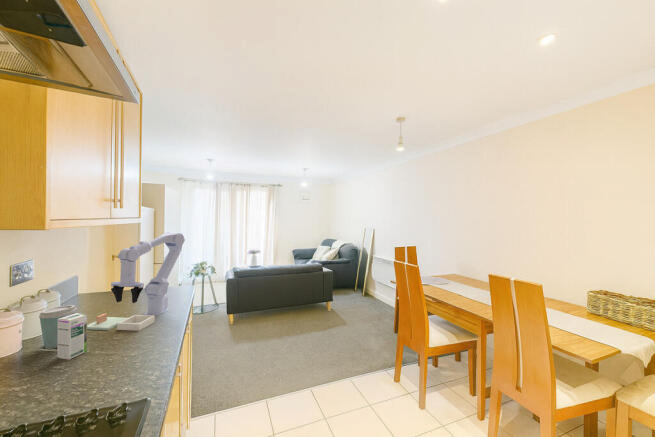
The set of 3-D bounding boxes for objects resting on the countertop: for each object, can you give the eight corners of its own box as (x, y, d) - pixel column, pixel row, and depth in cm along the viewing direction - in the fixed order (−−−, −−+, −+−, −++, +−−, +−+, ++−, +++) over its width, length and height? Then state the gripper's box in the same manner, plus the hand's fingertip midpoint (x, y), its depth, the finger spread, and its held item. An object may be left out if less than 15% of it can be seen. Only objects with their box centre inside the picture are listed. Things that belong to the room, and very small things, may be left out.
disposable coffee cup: (28, 352, 97) (29, 312, 97) (58, 338, 107) (59, 302, 107) (56, 353, 97) (57, 313, 96) (84, 339, 107) (84, 303, 107)
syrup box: (69, 360, 92) (70, 319, 92) (56, 357, 93) (57, 318, 93) (86, 352, 98) (87, 314, 98) (74, 349, 99) (75, 312, 99)
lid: (105, 320, 127) (105, 310, 127) (128, 321, 126) (128, 311, 126) (83, 330, 115) (83, 319, 115) (108, 331, 115) (108, 320, 115)
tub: (134, 321, 126) (134, 314, 126) (154, 322, 125) (154, 315, 125) (117, 330, 116) (117, 323, 116) (139, 331, 115) (139, 324, 115)
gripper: (105, 274, 120) (104, 304, 119) (136, 276, 119) (135, 305, 119) (118, 271, 127) (117, 299, 127) (147, 273, 126) (146, 300, 126)
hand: (126, 302), depth 123 cm, fingers open, 7 cm apart
